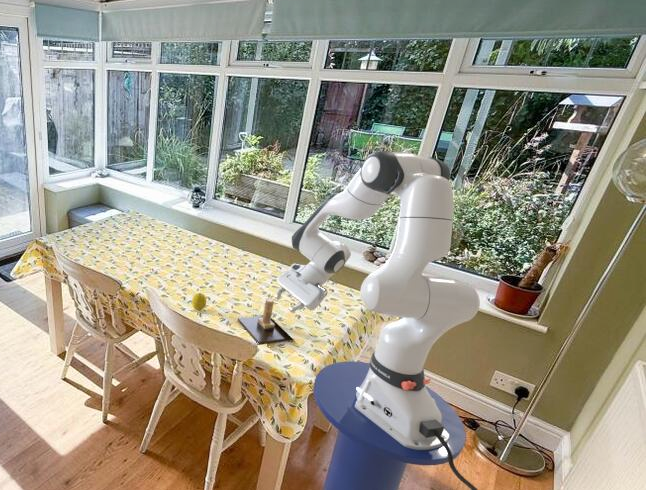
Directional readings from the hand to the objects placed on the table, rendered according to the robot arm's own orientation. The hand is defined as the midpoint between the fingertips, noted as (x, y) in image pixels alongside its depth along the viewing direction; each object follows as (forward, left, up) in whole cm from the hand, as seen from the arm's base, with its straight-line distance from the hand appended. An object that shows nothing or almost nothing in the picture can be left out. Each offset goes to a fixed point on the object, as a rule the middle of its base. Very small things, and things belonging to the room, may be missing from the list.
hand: (283, 304), depth 150 cm
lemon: (+18, +25, -10) cm, 32 cm away
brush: (0, +6, -9) cm, 11 cm away
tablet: (0, +3, -10) cm, 11 cm away
